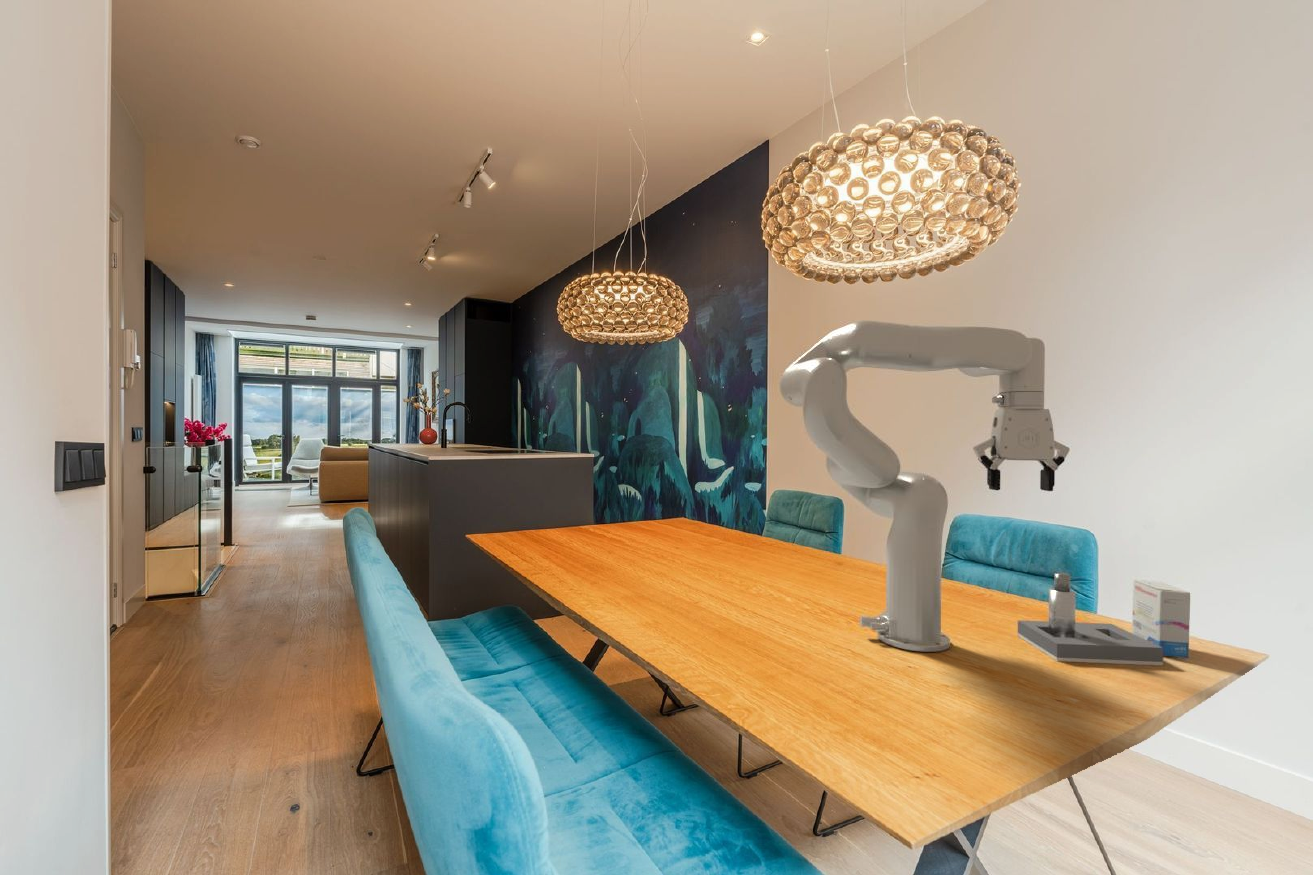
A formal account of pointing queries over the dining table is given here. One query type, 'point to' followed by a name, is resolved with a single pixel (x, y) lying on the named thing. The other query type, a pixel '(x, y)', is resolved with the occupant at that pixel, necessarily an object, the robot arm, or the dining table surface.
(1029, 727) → the dining table surface
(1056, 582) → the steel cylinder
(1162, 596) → the ink box
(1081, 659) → the socket board
